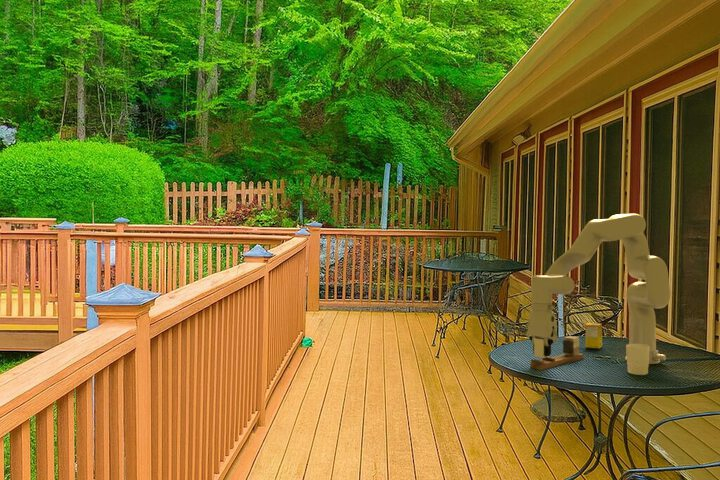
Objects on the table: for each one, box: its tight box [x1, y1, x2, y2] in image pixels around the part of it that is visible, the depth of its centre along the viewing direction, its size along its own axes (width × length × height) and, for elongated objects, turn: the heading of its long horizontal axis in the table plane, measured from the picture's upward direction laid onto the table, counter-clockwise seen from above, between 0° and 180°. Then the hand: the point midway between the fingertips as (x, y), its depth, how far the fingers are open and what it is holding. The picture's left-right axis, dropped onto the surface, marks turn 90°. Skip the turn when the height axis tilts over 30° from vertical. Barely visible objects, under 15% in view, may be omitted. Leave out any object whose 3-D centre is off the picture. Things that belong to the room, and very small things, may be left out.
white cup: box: [625, 343, 650, 376], centre depth 217 cm, size 8×8×10 cm
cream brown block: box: [533, 337, 552, 359], centre depth 227 cm, size 4×5×7 cm
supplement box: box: [584, 322, 603, 351], centre depth 261 cm, size 6×6×11 cm
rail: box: [530, 335, 585, 371], centre depth 234 cm, size 5×29×9 cm, turn 128°
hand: (541, 354), depth 227 cm, fingers closed on cream brown block, 4 cm apart
